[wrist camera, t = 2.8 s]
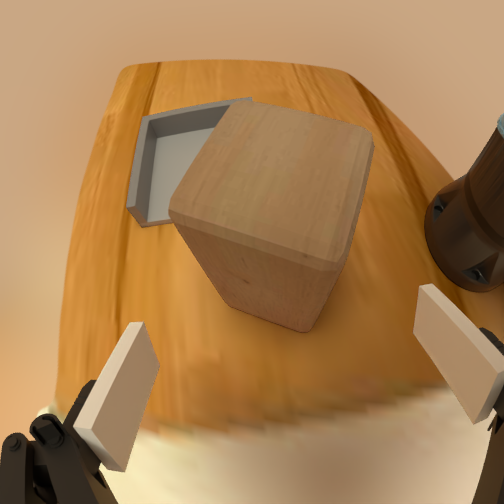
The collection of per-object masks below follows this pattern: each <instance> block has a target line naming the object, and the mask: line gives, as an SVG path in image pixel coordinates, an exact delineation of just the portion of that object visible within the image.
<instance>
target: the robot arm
mask: <svg viewBox="0 0 504 504" xmlns="http://www.w3.org/2000/svg"><path fill="white" fill-rule="evenodd" d="M497 123H498V125H497V128H496V129H495V131H494V133H493V134H492V136H491V138H490V139H489V141H488V142H487V144H486V146H485V147H484V149H483V150H482V152H481V153H480V155H479V156H478V158H477V159H476V161H475V162H474V164H473V165H472V167H471V168H470V170H469V172H468V173H467V174H466V175H464V176H462V177H460V178H459V179H457V180H455V181H454V182H452V183H450V184H449V185H447V186H445V187H444V188H442V189H441V190H440V191H439V192H438V193H437V194H436V196H435V197H434V199H433V200H432V202H431V203H430V205H429V207H428V209H427V212H426V216H425V235H426V240H427V243H428V246H429V249H430V251H431V254H432V256H433V258H434V260H435V261H436V263H437V264H438V266H439V267H440V269H441V270H442V271H443V272H444V273H445V275H446V276H447V277H448V278H449V279H451V280H452V281H453V282H454V283H456V284H457V285H459V286H460V287H462V288H464V289H467V290H470V291H474V292H486V291H490V290H492V289H494V288H496V287H497V286H499V285H500V284H502V283H503V282H504V113H503V114H502V115H501V116H500V117H499V120H498V122H497ZM413 334H414V335H415V337H416V338H417V339H418V341H419V342H420V344H421V345H422V346H423V348H424V349H425V351H426V352H427V354H428V355H429V356H430V358H431V359H432V361H433V362H434V364H435V365H436V367H437V368H438V370H439V371H440V373H441V374H442V376H443V377H444V379H445V380H446V382H447V383H448V385H449V386H450V388H451V389H452V391H453V392H454V394H455V396H456V397H457V399H458V400H459V402H460V403H461V405H462V407H463V408H464V410H465V411H466V413H467V415H468V416H469V418H470V420H471V421H472V423H473V424H475V423H478V422H480V421H482V420H484V419H486V418H488V416H489V414H490V412H491V410H492V409H493V408H494V409H495V411H496V412H497V413H496V415H495V417H494V419H493V420H492V422H491V424H490V426H489V428H488V430H487V431H490V429H491V428H492V432H491V437H490V442H489V446H488V450H487V455H486V458H485V462H484V466H483V470H482V473H481V477H480V480H479V483H478V486H477V490H476V493H475V496H474V498H473V501H472V504H504V344H503V343H502V342H501V341H499V339H498V338H497V337H496V336H495V335H494V334H493V333H492V332H490V331H488V330H487V329H485V328H483V327H482V328H479V329H478V328H477V327H476V326H475V325H474V324H473V323H472V322H471V321H470V320H469V319H468V318H467V317H466V316H465V315H464V314H463V313H462V312H461V311H460V310H459V309H458V308H457V307H456V306H455V305H454V304H453V303H452V302H451V301H450V300H449V299H448V298H447V297H446V296H445V295H444V294H443V293H442V292H441V291H440V290H439V289H438V288H436V287H435V286H434V285H433V284H427V285H422V286H419V292H418V301H417V308H416V316H415V322H414V329H413ZM159 367H160V365H159V362H158V359H157V357H156V354H155V352H154V349H153V346H152V343H151V341H150V338H149V335H148V332H147V329H146V327H145V324H144V322H130V323H129V325H128V326H127V328H126V330H125V331H124V333H123V335H122V336H121V338H120V340H119V342H118V343H117V345H116V347H115V349H114V350H113V352H112V354H111V356H110V357H109V359H108V361H107V363H106V365H105V366H104V368H103V370H102V372H101V374H100V376H99V377H98V379H97V380H90V381H89V382H88V383H87V384H86V385H85V386H84V387H83V388H82V390H81V391H80V393H79V395H78V398H76V400H75V402H74V405H73V406H72V408H71V409H70V411H69V413H68V415H67V417H66V419H65V421H64V423H63V424H62V423H61V422H60V421H59V419H58V418H57V417H56V416H55V415H53V414H43V415H40V416H39V417H37V418H36V419H35V420H34V421H33V422H32V424H31V426H30V433H31V435H32V436H33V437H34V438H35V440H36V441H29V440H28V439H27V438H26V437H25V436H24V435H23V434H21V433H13V434H11V435H9V436H8V437H7V438H6V439H5V441H4V442H3V445H2V452H1V460H0V504H118V502H117V501H116V499H115V497H114V495H113V493H112V491H111V490H110V488H109V486H108V484H107V482H106V480H105V478H104V476H103V474H102V472H101V471H100V470H99V466H100V463H101V462H102V464H103V465H104V466H105V467H106V468H107V469H108V470H112V471H118V472H125V470H126V467H127V464H128V460H129V457H130V454H131V451H132V448H133V445H134V441H135V438H136V435H137V432H138V429H139V426H140V423H141V420H142V417H143V414H144V411H145V408H146V405H147V402H148V399H149V396H150V393H151V390H152V387H153V384H154V382H155V379H156V376H157V373H158V370H159ZM492 426H493V427H492Z"/></svg>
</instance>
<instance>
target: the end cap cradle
mask: <svg viewBox="0 0 504 504" xmlns="http://www.w3.org/2000/svg"><path fill="white" fill-rule="evenodd" d="M242 100H247V101H252V97H248V98H240V99H233V100H226V101H219V102H213V103H207V104H201V105H196V106H191V107H185V108H180V109H176V110H171V111H166V112H162V113H157V114H153V115H149V116H145V117H143V118H142V122H141V127H140V131H139V136H138V141H137V146H136V151H135V156H134V161H133V167H132V173H131V179H130V185H129V191H128V198H127V205H126V208H127V209H128V211H129V212H130V213H131V214H132V216H133V217H134V218H135V219H136V221H137V222H138V223H139V224H140V226H141V227H148V226H154V225H161V224H167V223H173V222H172V220H171V218H170V217H169V215H168V207H169V203H170V198H171V196H172V195H173V193H174V191H175V190H176V188H177V186H178V185H179V183H180V181H181V180H182V178H183V176H184V175H185V173H186V172H187V170H188V168H189V167H190V165H191V164H192V162H193V160H194V159H195V157H196V156H197V154H198V153H199V151H200V149H201V148H202V146H203V145H204V143H205V142H206V140H207V139H208V137H209V136H210V134H211V133H212V131H213V130H214V128H215V127H216V125H217V124H218V122H219V121H220V119H221V118H222V117H223V115H224V114H225V112H226V111H227V109H228V108H229V107H230V105H231V104H233V103H234V102H236V101H242Z"/></svg>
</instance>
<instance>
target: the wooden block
mask: <svg viewBox="0 0 504 504" xmlns="http://www.w3.org/2000/svg"><path fill="white" fill-rule="evenodd" d="M374 147H375V146H374V142H373V138H372V134H371V132H370V131H368V130H367V129H365V128H363V127H361V126H357V125H354V124H350V123H347V122H343V121H340V120H336V119H332V118H328V117H324V116H320V115H316V114H312V113H308V112H303V111H299V110H294V109H290V108H285V107H280V106H275V105H270V104H265V103H259V102H253V101H247V100H242V101H236V102H234V103H233V104H231V105H230V107H229V108H228V109H227V111H226V112H225V114H224V115H223V117H222V118H221V119H220V121H219V122H218V124H217V125H216V127H215V128H214V130H213V131H212V133H211V134H210V136H209V137H208V139H207V140H206V142H205V143H204V145H203V146H202V148H201V149H200V151H199V153H198V154H197V156H196V157H195V159H194V160H193V162H192V164H191V165H190V167H189V168H188V170H187V172H186V173H185V175H184V176H183V178H182V180H181V181H180V183H179V185H178V186H177V188H176V190H175V191H174V193H173V195H172V196H171V198H170V203H169V207H168V215H169V217H170V218H171V220H172V222H173V223H174V225H175V226H176V228H177V230H178V231H179V233H180V234H181V236H182V237H183V239H184V241H185V242H186V244H187V245H188V247H189V248H190V250H191V251H192V253H193V255H194V256H195V258H196V259H197V261H198V262H199V264H200V265H201V267H202V268H203V270H204V271H205V273H206V274H207V276H208V278H209V279H210V281H211V282H212V284H213V285H214V287H215V288H216V290H217V291H218V293H219V294H220V295H221V297H222V298H223V300H224V301H225V302H226V303H227V304H228V305H229V306H230V307H233V308H236V309H238V310H241V311H243V312H246V313H249V314H251V315H254V316H257V317H260V318H262V319H265V320H268V321H270V322H273V323H276V324H279V325H282V326H284V327H287V328H290V329H293V330H296V331H299V332H309V331H310V329H311V328H312V327H313V326H314V324H315V322H316V320H317V318H318V316H319V315H320V313H321V311H322V309H323V307H324V305H325V303H326V301H327V299H328V297H329V295H330V293H331V291H332V289H333V287H334V285H335V283H336V281H337V279H338V277H339V275H340V273H341V271H342V268H343V266H344V264H345V262H346V260H347V257H348V254H349V250H350V246H351V243H352V239H353V236H354V232H355V228H356V224H357V221H358V217H359V213H360V209H361V205H362V201H363V197H364V193H365V188H366V184H367V180H368V175H369V171H370V166H371V162H372V157H373V152H374Z"/></svg>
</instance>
